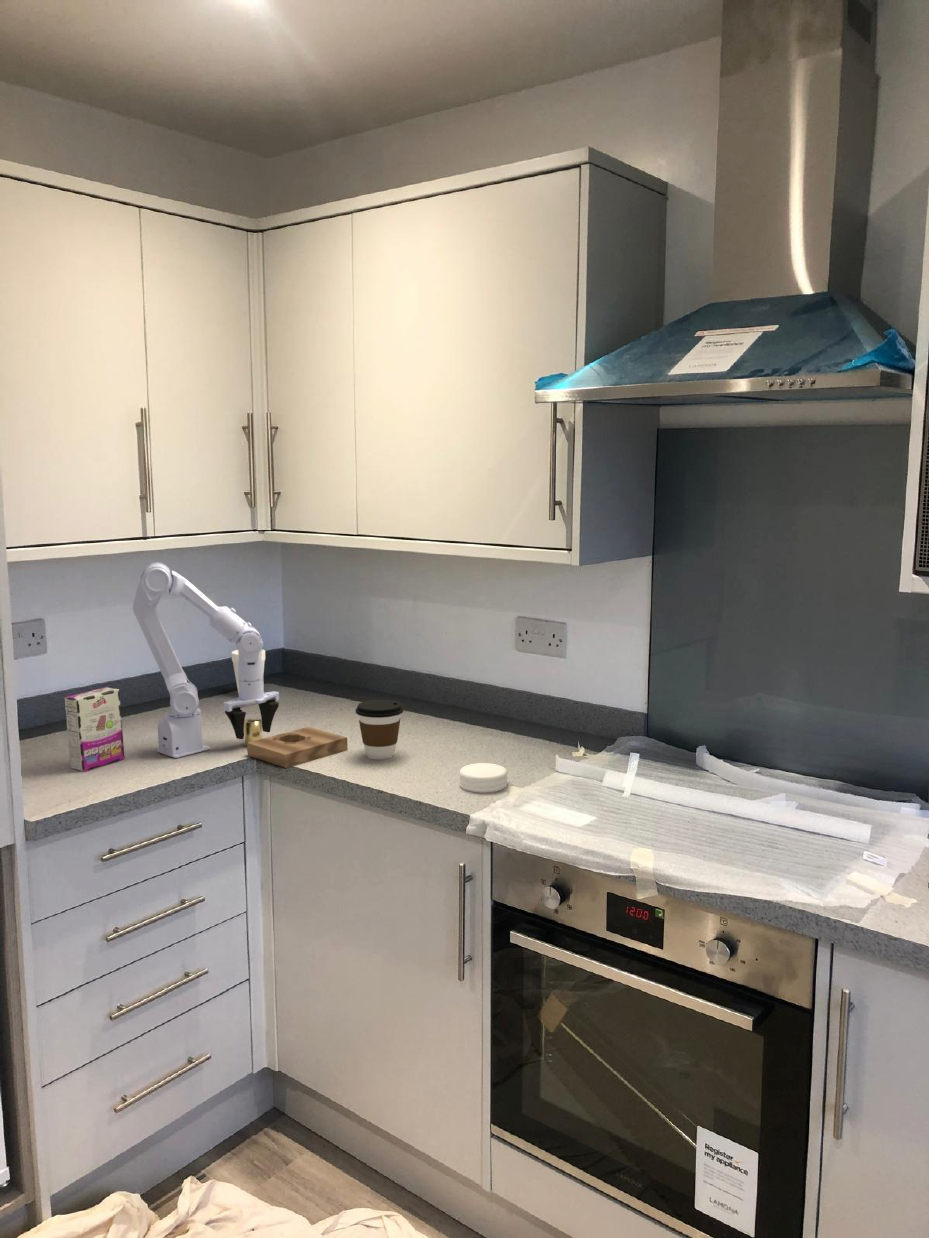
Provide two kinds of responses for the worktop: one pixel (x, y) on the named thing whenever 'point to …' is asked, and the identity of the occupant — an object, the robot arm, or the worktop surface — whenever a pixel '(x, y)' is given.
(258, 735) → the bushing
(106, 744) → the candy bar box
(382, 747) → the coffee cup
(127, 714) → the worktop surface
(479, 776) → the white round disc
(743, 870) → the worktop surface
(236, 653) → the foam cup
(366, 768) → the worktop surface
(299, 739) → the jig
